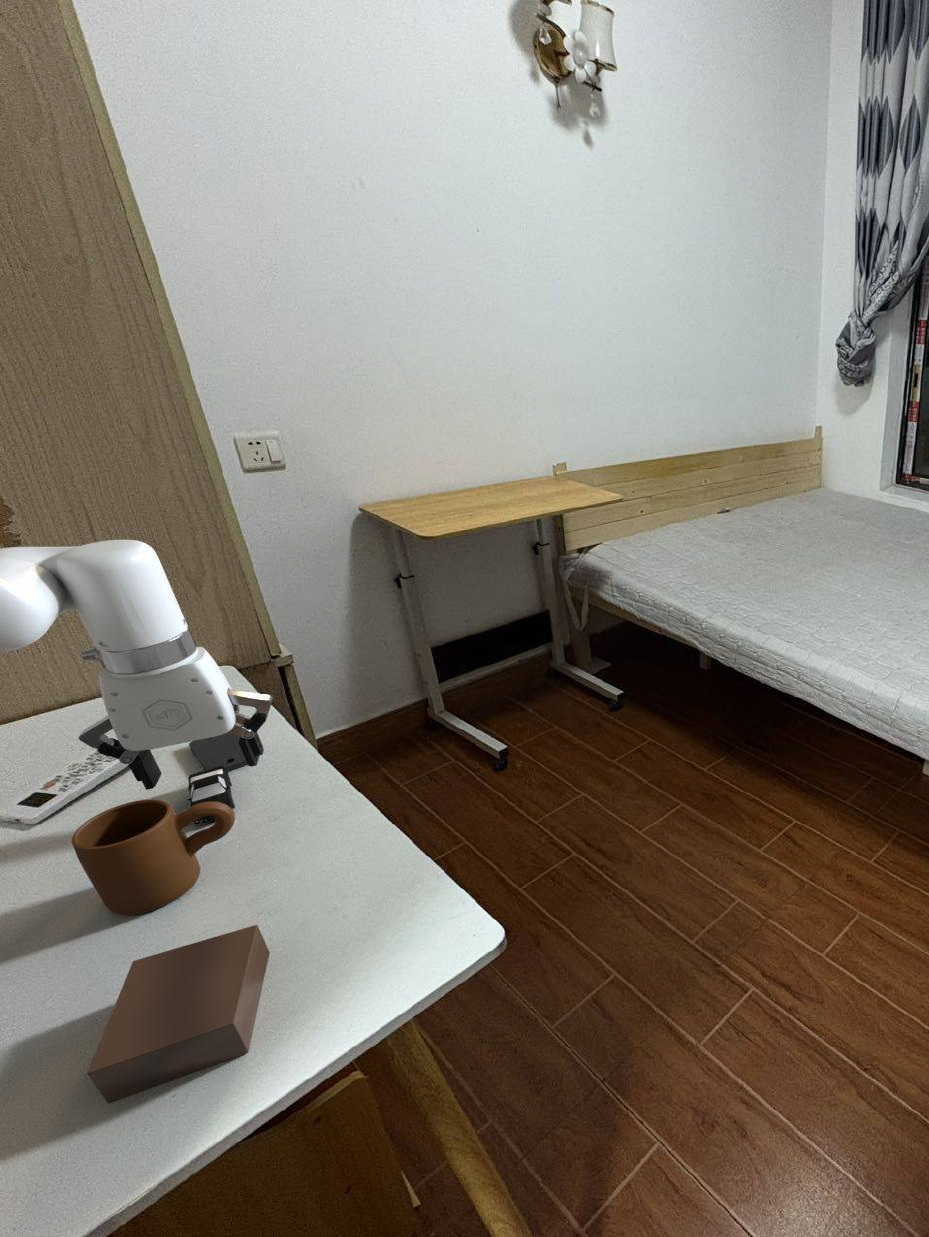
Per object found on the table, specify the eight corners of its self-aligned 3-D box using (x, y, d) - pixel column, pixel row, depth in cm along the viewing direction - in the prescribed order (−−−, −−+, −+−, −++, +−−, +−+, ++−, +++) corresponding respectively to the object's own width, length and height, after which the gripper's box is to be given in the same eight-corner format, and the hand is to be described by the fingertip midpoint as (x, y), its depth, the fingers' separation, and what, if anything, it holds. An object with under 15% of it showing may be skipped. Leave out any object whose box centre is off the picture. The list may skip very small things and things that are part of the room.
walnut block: (107, 1103, 54) (86, 1073, 52) (149, 989, 62) (132, 960, 61) (248, 1052, 58) (233, 1023, 56) (269, 952, 66) (257, 924, 65)
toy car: (237, 817, 82) (230, 800, 81) (193, 832, 80) (185, 814, 79) (231, 775, 89) (224, 759, 88) (190, 787, 86) (183, 771, 85)
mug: (255, 839, 79) (229, 776, 75) (251, 882, 74) (223, 816, 70) (115, 879, 73) (79, 813, 69) (99, 930, 68) (58, 861, 63)
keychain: (232, 727, 97) (255, 756, 91) (234, 731, 97) (257, 760, 92) (187, 742, 93) (208, 773, 88) (189, 746, 93) (210, 777, 88)
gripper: (26, 683, 68) (100, 811, 76) (240, 649, 76) (288, 769, 84) (56, 650, 74) (122, 773, 82) (252, 622, 82) (296, 736, 89)
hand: (206, 770), depth 83 cm, fingers open, 9 cm apart
